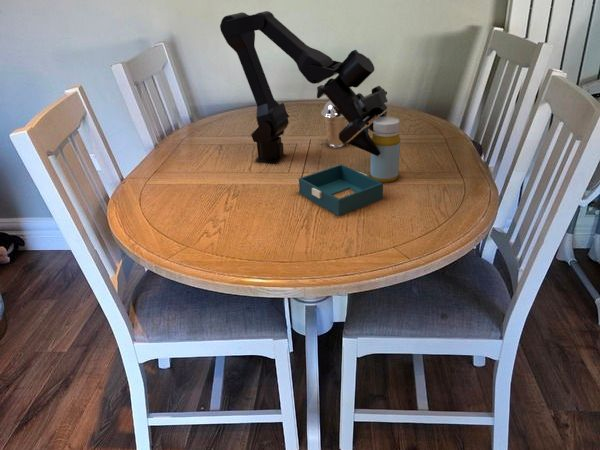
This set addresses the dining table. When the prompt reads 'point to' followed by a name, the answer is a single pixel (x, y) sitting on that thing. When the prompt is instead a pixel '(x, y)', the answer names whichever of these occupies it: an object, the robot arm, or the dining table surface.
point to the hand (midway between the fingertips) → (385, 148)
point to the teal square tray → (340, 189)
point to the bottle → (385, 149)
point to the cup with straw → (333, 124)
